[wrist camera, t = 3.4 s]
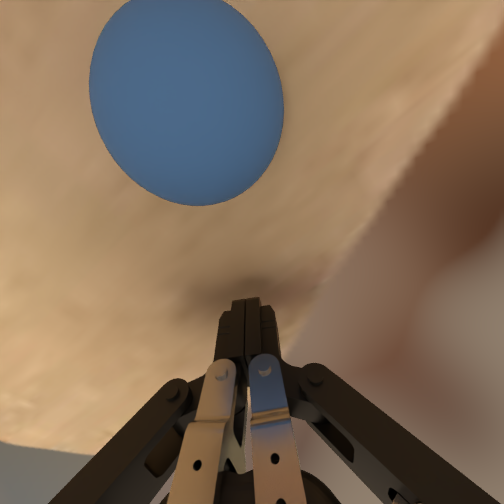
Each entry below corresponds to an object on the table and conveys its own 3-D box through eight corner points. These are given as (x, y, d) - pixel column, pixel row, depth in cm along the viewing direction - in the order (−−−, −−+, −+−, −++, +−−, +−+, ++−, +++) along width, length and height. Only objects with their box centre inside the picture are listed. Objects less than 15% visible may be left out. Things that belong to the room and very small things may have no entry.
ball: (111, 40, 10) (-41, -22, 5) (263, 2, 9) (282, -117, 4) (166, 189, 13) (112, 250, 8) (283, 167, 12) (306, 217, 7)
